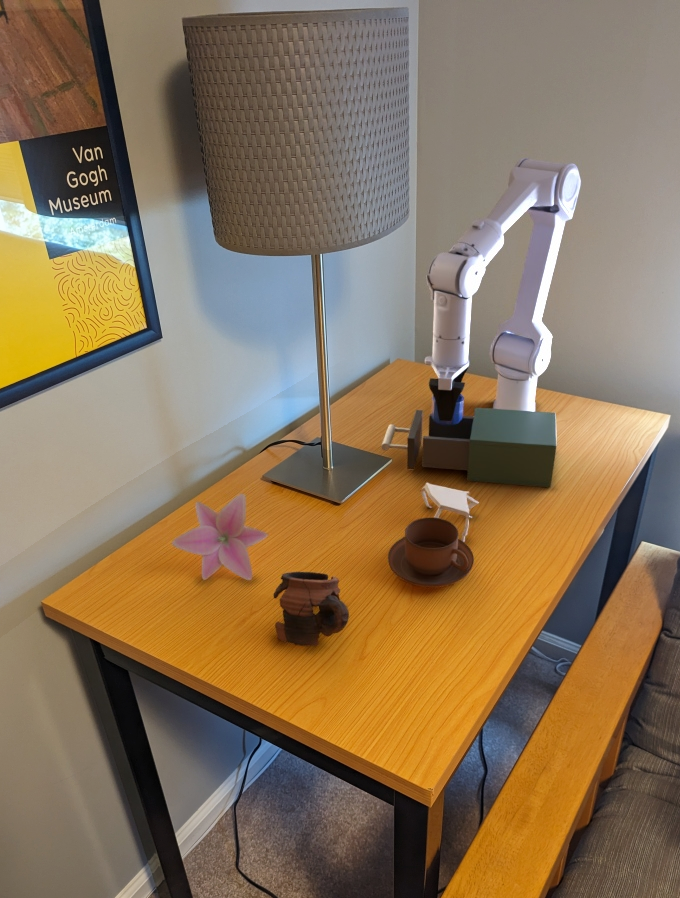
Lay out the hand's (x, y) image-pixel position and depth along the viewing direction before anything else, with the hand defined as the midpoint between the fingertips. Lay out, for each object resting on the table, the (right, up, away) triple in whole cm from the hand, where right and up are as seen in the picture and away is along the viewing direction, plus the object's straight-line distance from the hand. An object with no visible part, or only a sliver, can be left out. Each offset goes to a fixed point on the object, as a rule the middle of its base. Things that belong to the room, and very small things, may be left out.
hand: (447, 411), depth 124 cm
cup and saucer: (-5, -25, -19) cm, 32 cm away
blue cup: (0, -1, +1) cm, 1 cm away
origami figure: (-1, -19, -10) cm, 21 cm away
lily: (-34, -25, -17) cm, 45 cm away
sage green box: (+11, -9, +3) cm, 14 cm away
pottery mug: (-20, -32, -28) cm, 47 cm away
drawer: (-2, -7, +4) cm, 8 cm away
